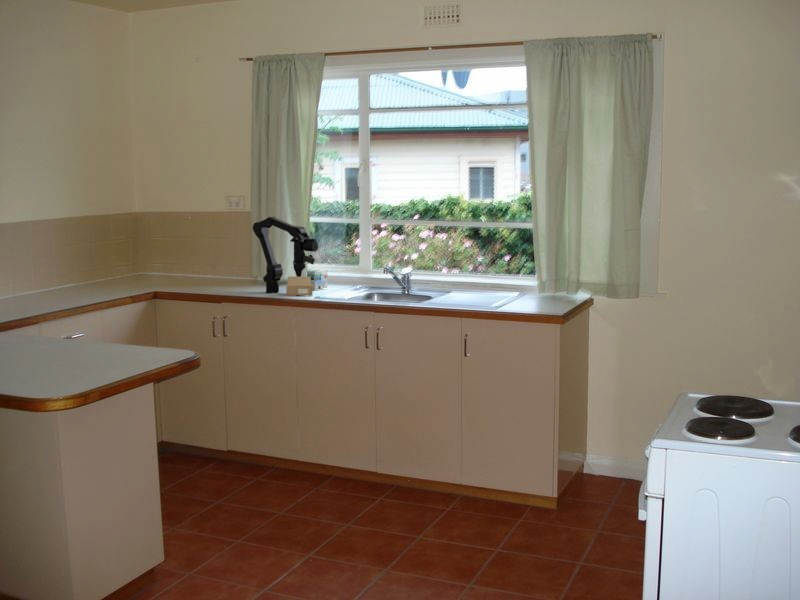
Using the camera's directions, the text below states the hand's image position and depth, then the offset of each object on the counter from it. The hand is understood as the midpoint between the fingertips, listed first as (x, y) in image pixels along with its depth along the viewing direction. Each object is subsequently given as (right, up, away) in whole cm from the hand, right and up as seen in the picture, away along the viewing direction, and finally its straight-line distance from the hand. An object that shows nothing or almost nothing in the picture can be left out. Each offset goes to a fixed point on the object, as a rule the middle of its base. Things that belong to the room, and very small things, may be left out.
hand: (299, 279), depth 466 cm
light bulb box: (+7, -5, +25) cm, 27 cm away
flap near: (0, -1, -3) cm, 3 cm away
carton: (0, -8, +3) cm, 8 cm away
